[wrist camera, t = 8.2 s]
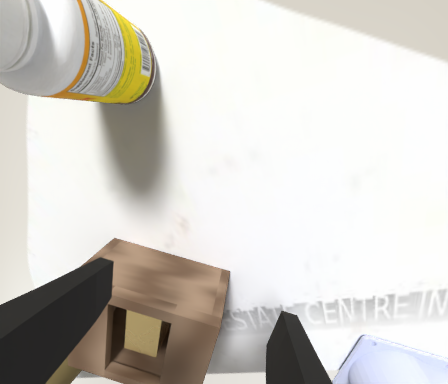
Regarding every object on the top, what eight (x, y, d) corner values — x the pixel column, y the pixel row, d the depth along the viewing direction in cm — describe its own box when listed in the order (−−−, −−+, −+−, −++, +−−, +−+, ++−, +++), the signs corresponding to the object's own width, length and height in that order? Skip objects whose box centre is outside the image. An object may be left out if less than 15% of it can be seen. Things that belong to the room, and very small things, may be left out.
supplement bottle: (77, 66, 17) (-167, -5, 7) (116, 1, 15) (-139, -214, 5) (131, 121, 17) (-23, 123, 8) (174, 64, 16) (45, -21, 6)
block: (182, 274, 22) (162, 317, 17) (176, 310, 24) (156, 357, 19) (154, 267, 22) (127, 307, 17) (150, 302, 24) (124, 347, 19)
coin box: (229, 271, 21) (220, 328, 15) (209, 340, 24) (195, 407, 19) (114, 238, 21) (64, 280, 16) (110, 309, 25) (68, 365, 19)
